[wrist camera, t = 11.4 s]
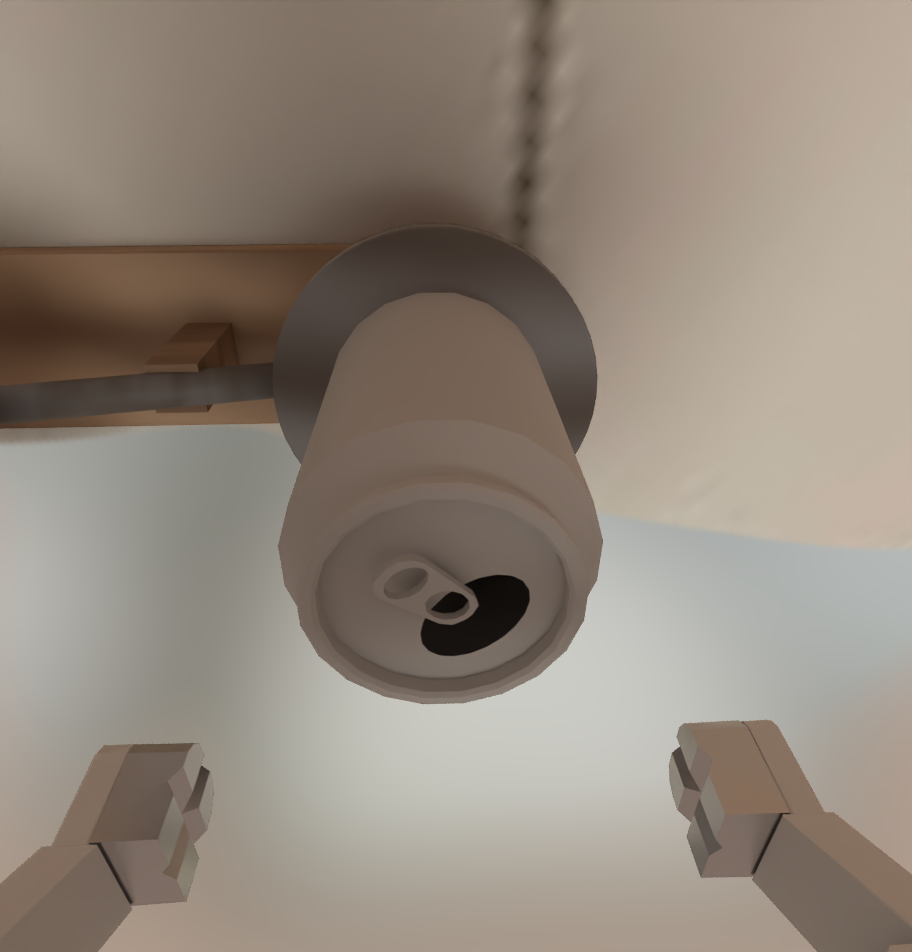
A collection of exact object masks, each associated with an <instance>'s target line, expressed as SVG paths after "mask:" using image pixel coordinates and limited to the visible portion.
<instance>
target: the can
mask: <svg viewBox="0 0 912 952" xmlns="http://www.w3.org/2000/svg"><path fill="white" fill-rule="evenodd" d="M602 544H603V539H602V535H601V531H600V527H599V523H598V519H597V514H596V510H595V506H594V502H593V499H592V496H591V494H590V491H589V489H588V486H587V484H586V481H585V479H584V476H583V474H582V471H581V469H580V466H579V464H578V461H577V458H576V456H575V453H574V451H573V448H572V446H571V443H570V441H569V438H568V436H567V433H566V431H565V428H564V426H563V423H562V420H561V418H560V415H559V413H558V410H557V408H556V405H555V403H554V400H553V398H552V395H551V393H550V390H549V388H548V385H547V383H546V380H545V377H544V375H543V372H542V370H541V367H540V365H539V362H538V360H537V357H536V355H535V352H534V350H533V349H532V347H531V346H530V344H529V343H528V341H527V340H526V338H525V337H524V335H523V334H522V333H521V331H520V330H519V328H518V327H517V325H516V324H515V323H514V322H512V321H511V320H510V319H508V318H507V317H506V316H504V315H503V314H502V313H500V312H499V311H497V310H496V309H495V308H493V307H492V306H491V305H489V304H488V303H485V302H482V301H479V300H475V299H472V298H469V297H466V296H463V295H460V294H457V293H417V294H414V295H411V296H408V297H405V298H401V299H398V300H395V301H392V302H389V303H386V304H384V305H383V306H382V307H380V308H379V309H378V310H376V311H375V312H374V313H372V314H371V315H370V316H368V317H367V318H366V319H364V320H363V321H362V322H360V323H359V324H358V325H357V326H356V328H355V329H354V331H353V332H352V334H351V335H350V337H349V338H348V339H347V341H346V342H345V344H344V345H343V347H342V348H341V350H340V351H339V354H338V357H337V360H336V363H335V366H334V369H333V372H332V375H331V378H330V381H329V384H328V387H327V390H326V393H325V396H324V399H323V402H322V405H321V408H320V411H319V414H318V417H317V420H316V423H315V426H314V429H313V432H312V435H311V438H310V441H309V444H308V447H307V449H306V452H305V455H304V458H303V461H302V464H301V468H300V470H299V473H298V476H297V479H296V483H295V485H294V488H293V491H292V494H291V497H290V500H289V503H288V507H287V511H286V515H285V519H284V524H283V528H282V532H281V536H280V540H279V545H278V548H279V554H280V560H281V565H282V571H283V578H284V584H285V587H286V588H287V590H288V592H289V593H290V595H291V597H292V598H293V600H294V602H295V603H296V605H297V607H298V613H299V620H300V626H301V627H302V629H303V631H304V632H305V634H306V635H307V637H308V639H309V641H310V642H311V644H312V645H313V647H314V649H315V650H316V652H317V654H318V655H319V656H320V657H321V658H322V659H323V660H324V661H326V662H327V663H328V664H329V665H330V666H332V667H333V668H334V669H335V670H336V671H337V672H339V673H340V674H341V675H342V676H344V677H345V678H346V679H347V680H349V681H351V682H353V683H356V684H358V685H360V686H362V687H365V688H367V689H369V690H371V691H373V692H376V693H378V694H380V695H382V696H385V697H390V698H395V699H400V700H405V701H410V702H416V703H421V704H446V703H466V702H470V701H474V700H478V699H483V698H486V697H491V696H495V695H499V694H503V693H505V692H507V691H509V690H511V689H513V688H514V687H516V686H519V685H520V684H523V683H525V682H526V681H528V680H530V679H532V678H534V677H536V676H538V675H539V674H541V673H542V672H543V671H544V670H545V669H546V668H547V667H548V666H550V665H551V664H552V663H553V662H554V661H555V660H556V659H557V658H558V657H560V656H561V655H562V654H563V653H564V652H565V651H566V650H567V648H568V647H569V645H570V643H571V642H572V640H573V638H574V636H575V634H576V633H577V631H578V629H579V628H580V626H581V624H582V623H583V621H584V616H585V610H586V604H587V597H588V595H589V593H590V591H591V589H592V588H593V586H594V584H595V582H596V581H597V576H598V569H599V563H600V557H601V550H602Z"/></svg>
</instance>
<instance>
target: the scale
mask: <svg viewBox="0 0 912 952" xmlns="http://www.w3.org/2000/svg"><path fill="white" fill-rule="evenodd" d="M417 293H457V294H460V295H463V296H466V297H469V298H472V299H475V300H479V301H482V302H485V303H488V304H489V305H491V306H492V307H493V308H495V309H496V310H497V311H499V312H500V313H502V314H503V315H504V316H506V317H507V318H508V319H510V320H511V321H512V322H514V323H515V324H516V325H517V327H518V328H519V330H520V331H521V333H522V334H523V335H524V337H525V338H526V340H527V341H528V343H529V344H530V346H531V347H532V349H533V350H534V352H535V355H536V357H537V360H538V362H539V365H540V367H541V370H542V372H543V375H544V377H545V380H546V383H547V385H548V388H549V390H550V393H551V395H552V398H553V400H554V403H555V405H556V408H557V410H558V413H559V415H560V418H561V420H562V423H563V426H564V428H565V431H566V433H567V436H568V438H569V441H570V443H571V446H572V448H573V451H574V453H575V454H576V452H577V451H578V449H579V447H580V445H581V443H582V441H583V439H584V437H585V435H586V433H587V430H588V427H589V424H590V421H591V418H592V415H593V411H594V405H595V400H596V392H597V368H596V357H595V353H594V348H593V344H592V340H591V336H590V334H589V331H588V329H587V326H586V324H585V321H584V319H583V317H582V315H581V313H580V311H579V310H578V308H577V306H576V305H575V303H574V301H573V299H572V298H571V296H570V295H569V293H568V292H567V291H566V289H565V288H564V287H563V285H562V284H561V283H560V282H559V280H558V279H557V278H556V277H555V275H554V274H553V273H552V272H551V271H550V270H549V269H547V268H546V267H545V266H544V265H543V264H542V263H541V262H540V261H539V260H538V259H537V258H535V257H534V256H532V255H531V254H529V253H528V252H527V251H525V250H524V249H522V248H521V247H519V246H517V245H515V244H514V243H512V242H510V241H508V240H506V239H504V238H502V237H500V236H497V235H494V234H491V233H488V232H486V231H483V230H480V229H476V228H471V227H466V226H461V225H456V224H439V223H428V224H416V225H407V226H403V227H398V228H394V229H389V230H386V231H383V232H380V233H378V234H375V235H372V236H370V237H367V238H365V239H363V240H361V241H359V242H357V243H355V244H280V245H192V246H105V247H17V248H0V429H1V428H53V427H104V426H156V425H208V424H260V423H280V425H281V428H282V431H283V433H284V436H285V438H286V440H287V442H288V444H289V445H290V447H291V449H292V451H293V453H294V455H295V456H296V458H297V459H298V460H299V462H300V463H301V464H302V461H303V458H304V455H305V452H306V449H307V447H308V444H309V441H310V438H311V435H312V432H313V429H314V426H315V423H316V420H317V417H318V414H319V411H320V408H321V405H322V402H323V399H324V396H325V393H326V390H327V387H328V384H329V381H330V378H331V375H332V372H333V369H334V366H335V363H336V360H337V357H338V354H339V351H340V350H341V348H342V347H343V345H344V344H345V342H346V341H347V339H348V338H349V337H350V335H351V334H352V332H353V331H354V329H355V328H356V326H357V325H358V324H359V323H360V322H362V321H363V320H364V319H366V318H367V317H368V316H370V315H371V314H372V313H374V312H375V311H376V310H378V309H379V308H380V307H382V306H383V305H384V304H386V303H389V302H392V301H395V300H398V299H401V298H405V297H408V296H411V295H414V294H417Z"/></svg>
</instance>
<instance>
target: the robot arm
mask: <svg viewBox="0 0 912 952" xmlns="http://www.w3.org/2000/svg"><path fill="white" fill-rule="evenodd" d="M677 739H678V742H679V744H680V747H679V748H678V749H676V750H675V751H674V752H673V753H672V755H671V759H670V763H669V774H670V775H669V777H670V785H671V790H672V794H673V798H674V801H675V803H676V807H677V810H679V812H680V813H681V814H683V815H684V816H685V817H686V818H687V819H688V820H689V821H690V822H691V825H690V827H689V830H688V834H687V839H688V842H689V844H690V848H691V850H692V853H693V856H694V859H695V862H696V865H697V867H698V870H699V873H700V876H701V878H703V877H704V878H705V877H753V879H752V880H753V881H754V882H755V883H756V885H758V887H759V888H760V889H761V890H762V891H763V892H764V893H765V894H766V895H767V897H768V898H769V899H770V900H771V901H772V902H773V903H774V904H775V905H776V907H777V908H778V909H779V910H780V911H781V912H782V913H783V914H784V915H785V916H786V918H787V919H788V920H789V921H790V922H791V923H792V924H793V925H794V926H795V928H796V929H797V930H798V931H799V932H800V933H801V934H802V935H803V936H804V938H806V940H807V941H808V942H809V943H810V944H811V945H812V946H813V948H814V949H816V951H817V952H912V875H911V874H910V873H909V872H908V871H907V870H905V869H904V868H903V867H902V866H900V865H899V864H898V863H897V862H895V861H894V860H893V859H892V858H890V857H889V856H888V855H887V854H885V853H884V852H883V851H882V850H880V849H879V848H878V847H876V846H875V845H874V844H873V843H872V842H870V841H869V840H868V839H867V838H865V837H864V836H863V835H861V834H860V833H859V832H858V831H856V830H855V829H854V828H852V826H850V825H849V824H848V823H847V822H845V821H844V820H843V819H841V818H840V817H839V816H838V815H836V814H835V813H833V812H832V813H831V812H830V813H829V812H828V813H827V812H824V810H823V808H822V806H821V804H820V803H819V801H818V799H817V797H816V795H815V793H814V792H813V790H812V788H811V786H810V784H809V782H808V781H807V779H806V777H805V775H804V773H803V772H802V770H801V768H800V766H799V764H798V762H797V760H796V759H795V757H794V755H793V753H792V751H791V750H790V748H789V746H788V744H787V742H786V741H785V739H784V737H783V735H782V733H781V731H780V729H779V728H778V726H777V725H776V724H775V723H774V722H772V721H770V720H757V721H720V722H705V723H704V722H703V723H685V724H683V725H681V726H680V727H679V730H678V734H677ZM203 757H204V753H203V751H202V748H201V746H200V744H199V743H178V744H177V743H176V744H128V745H104V746H103V747H102V748H101V749H100V750H99V752H98V753H97V754H96V755H95V756H94V758H93V760H92V762H91V764H90V767H89V769H88V771H87V773H86V775H85V777H84V779H83V781H82V783H81V785H80V787H79V789H78V791H77V794H76V796H75V798H74V800H73V802H72V804H71V806H70V808H69V810H68V812H67V814H66V817H65V818H64V821H63V823H62V825H61V827H60V829H59V831H58V833H57V835H56V837H55V840H54V841H53V843H52V846H46V847H41V848H40V849H39V850H37V851H36V852H35V853H34V854H33V855H32V856H31V857H30V858H28V859H27V860H26V861H25V862H24V863H23V864H22V865H21V866H20V867H18V868H17V869H16V870H15V871H14V872H13V873H12V874H11V875H9V876H8V877H7V878H6V879H5V880H4V881H3V882H2V883H1V884H0V952H98V951H99V950H100V949H101V947H102V946H103V945H104V944H105V942H106V941H107V940H108V939H109V937H110V936H111V935H112V934H113V932H114V931H115V930H116V929H117V928H118V926H119V925H120V924H121V922H122V921H123V920H124V919H125V918H126V916H127V915H128V914H129V913H130V911H131V910H132V907H131V906H135V905H148V904H161V903H173V902H174V903H175V902H186V901H187V898H188V894H189V891H190V888H191V884H192V881H193V877H194V874H195V870H196V867H197V863H198V859H199V857H198V854H197V851H196V849H195V846H194V843H195V842H196V841H197V840H198V839H199V838H200V837H201V836H202V835H203V834H204V833H205V832H206V830H207V828H208V824H209V821H210V817H211V813H212V806H213V796H214V790H213V780H212V776H211V774H210V771H209V770H207V769H205V768H204V767H203V766H201V764H202V761H203Z"/></svg>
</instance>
